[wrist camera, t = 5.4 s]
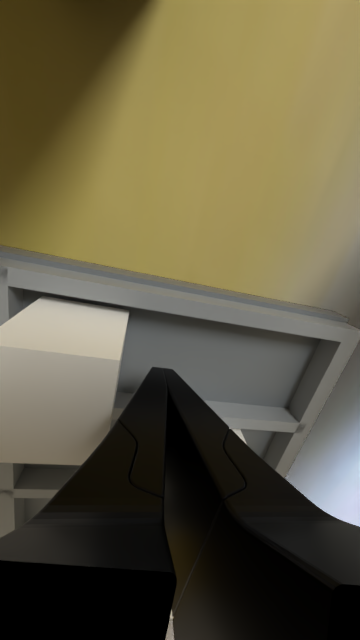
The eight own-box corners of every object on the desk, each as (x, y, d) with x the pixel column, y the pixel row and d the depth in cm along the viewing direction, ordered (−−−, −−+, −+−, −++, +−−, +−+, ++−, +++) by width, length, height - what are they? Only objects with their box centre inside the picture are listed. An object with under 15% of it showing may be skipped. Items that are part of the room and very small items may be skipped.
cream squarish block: (129, 310, 9) (120, 360, 6) (116, 388, 10) (103, 466, 7) (42, 296, 8) (-24, 342, 5) (40, 381, 10) (-14, 461, 6)
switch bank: (333, 311, 12) (368, 328, 10) (234, 517, 17) (245, 552, 15) (-118, 221, 8) (-197, 221, 6) (-59, 519, 14) (-91, 566, 12)
